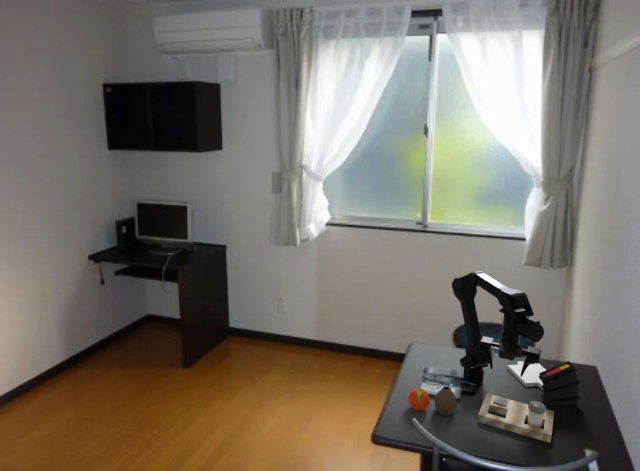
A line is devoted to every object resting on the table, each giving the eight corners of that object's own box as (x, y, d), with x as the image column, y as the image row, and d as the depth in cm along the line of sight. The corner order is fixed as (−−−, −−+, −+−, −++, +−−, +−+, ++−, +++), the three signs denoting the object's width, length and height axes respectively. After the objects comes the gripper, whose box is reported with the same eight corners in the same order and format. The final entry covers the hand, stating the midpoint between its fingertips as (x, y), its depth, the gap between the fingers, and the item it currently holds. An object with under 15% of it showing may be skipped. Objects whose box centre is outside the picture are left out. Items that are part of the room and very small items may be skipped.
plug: (524, 430, 148) (527, 407, 146) (526, 422, 152) (529, 399, 150) (541, 435, 146) (545, 411, 144) (542, 426, 150) (546, 403, 148)
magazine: (588, 401, 161) (575, 365, 157) (551, 417, 162) (537, 381, 158) (582, 395, 164) (568, 359, 161) (546, 410, 165) (532, 375, 162)
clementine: (428, 418, 153) (430, 398, 152) (406, 414, 155) (408, 395, 153) (429, 404, 161) (430, 385, 159) (408, 401, 162) (409, 382, 161)
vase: (456, 408, 159) (458, 384, 157) (454, 420, 152) (457, 395, 150) (435, 404, 161) (437, 380, 159) (432, 415, 155) (434, 391, 153)
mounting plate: (503, 366, 187) (504, 362, 187) (534, 364, 189) (535, 360, 189) (529, 391, 170) (529, 386, 170) (562, 389, 172) (563, 384, 171)
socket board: (477, 421, 152) (478, 413, 151) (485, 399, 164) (486, 392, 163) (550, 443, 142) (551, 434, 141) (553, 418, 154) (554, 410, 153)
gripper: (477, 332, 152) (472, 376, 156) (541, 345, 144) (534, 392, 147) (483, 319, 162) (479, 361, 165) (543, 331, 153) (537, 375, 157)
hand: (506, 372), depth 158 cm, fingers open, 9 cm apart
